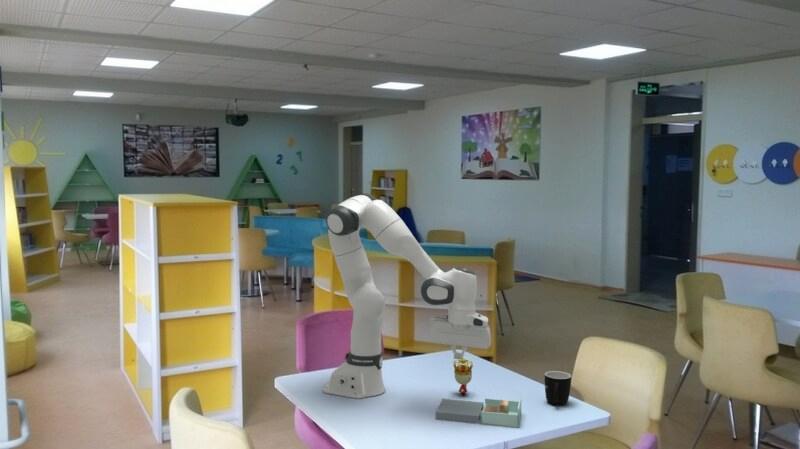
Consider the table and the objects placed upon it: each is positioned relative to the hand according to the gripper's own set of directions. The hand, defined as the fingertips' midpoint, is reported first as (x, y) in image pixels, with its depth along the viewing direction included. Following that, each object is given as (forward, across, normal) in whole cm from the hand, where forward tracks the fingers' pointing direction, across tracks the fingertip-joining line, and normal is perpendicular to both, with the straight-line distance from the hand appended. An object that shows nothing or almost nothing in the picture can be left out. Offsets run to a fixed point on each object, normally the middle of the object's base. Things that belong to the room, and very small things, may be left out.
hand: (458, 358), depth 213 cm
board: (+18, +2, 0) cm, 19 cm away
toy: (+18, 0, +19) cm, 27 cm away
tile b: (+18, +12, 0) cm, 22 cm away
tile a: (+15, +15, 0) cm, 21 cm away
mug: (+17, +33, +18) cm, 41 cm away
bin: (+18, +15, 0) cm, 24 cm away
